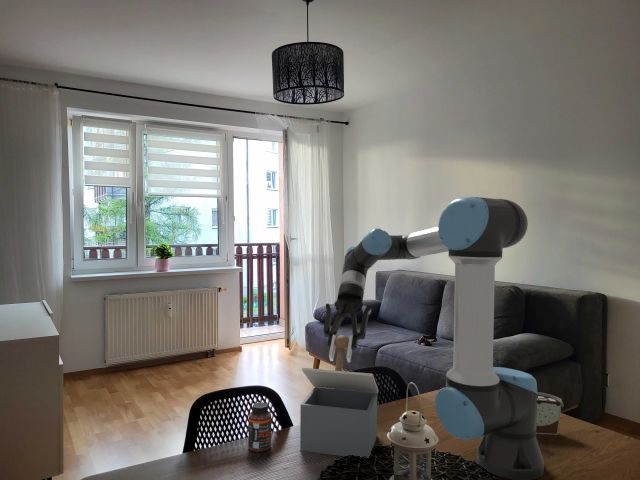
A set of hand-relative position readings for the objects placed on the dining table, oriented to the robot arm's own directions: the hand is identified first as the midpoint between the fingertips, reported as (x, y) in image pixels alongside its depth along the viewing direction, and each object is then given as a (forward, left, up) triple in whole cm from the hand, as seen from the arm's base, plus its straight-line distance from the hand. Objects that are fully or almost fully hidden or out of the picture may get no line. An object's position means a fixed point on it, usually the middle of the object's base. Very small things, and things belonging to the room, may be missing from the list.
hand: (339, 358), depth 123 cm
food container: (-33, -48, -23) cm, 63 cm away
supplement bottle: (+14, +16, -23) cm, 31 cm away
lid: (+1, -2, -7) cm, 7 cm away
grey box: (+1, -1, -23) cm, 23 cm away
